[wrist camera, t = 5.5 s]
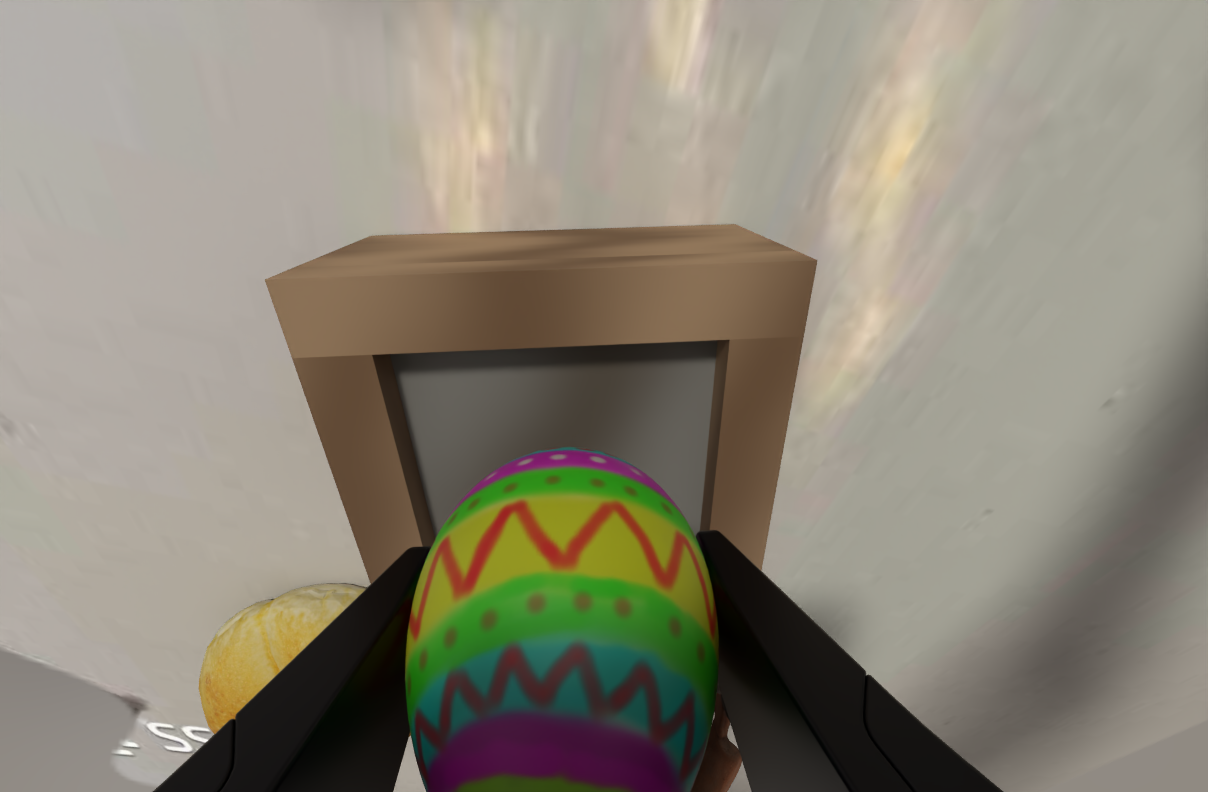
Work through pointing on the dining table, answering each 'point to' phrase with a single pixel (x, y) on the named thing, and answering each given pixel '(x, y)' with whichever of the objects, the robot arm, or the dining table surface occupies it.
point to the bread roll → (264, 645)
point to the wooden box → (548, 367)
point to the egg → (563, 635)
